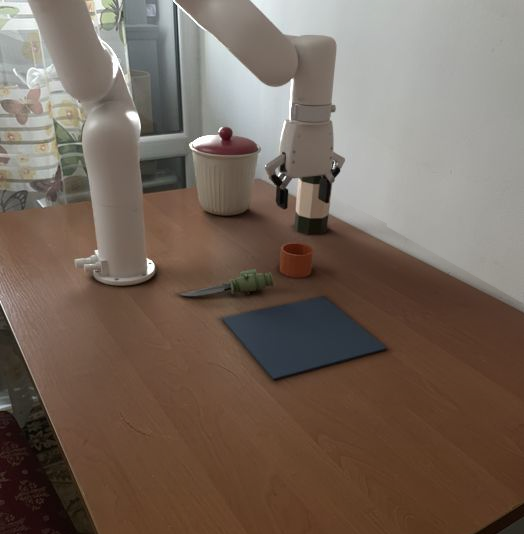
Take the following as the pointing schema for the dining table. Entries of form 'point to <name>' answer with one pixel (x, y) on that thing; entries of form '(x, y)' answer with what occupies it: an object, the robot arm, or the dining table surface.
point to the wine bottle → (311, 207)
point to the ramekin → (296, 259)
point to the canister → (225, 171)
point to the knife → (238, 284)
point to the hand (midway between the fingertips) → (303, 204)
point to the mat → (301, 336)
